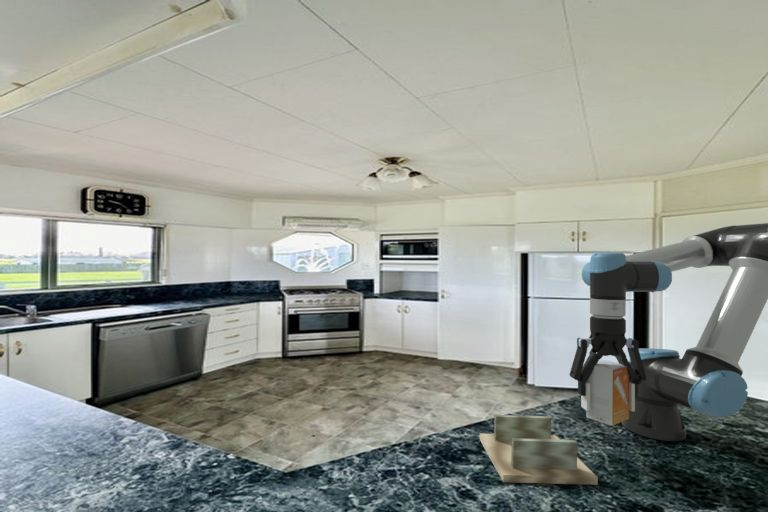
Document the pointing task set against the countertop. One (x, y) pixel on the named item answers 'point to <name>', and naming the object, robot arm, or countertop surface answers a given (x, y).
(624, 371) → the small box
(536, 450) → the bookend shelf
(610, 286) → the robot arm
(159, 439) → the countertop surface
